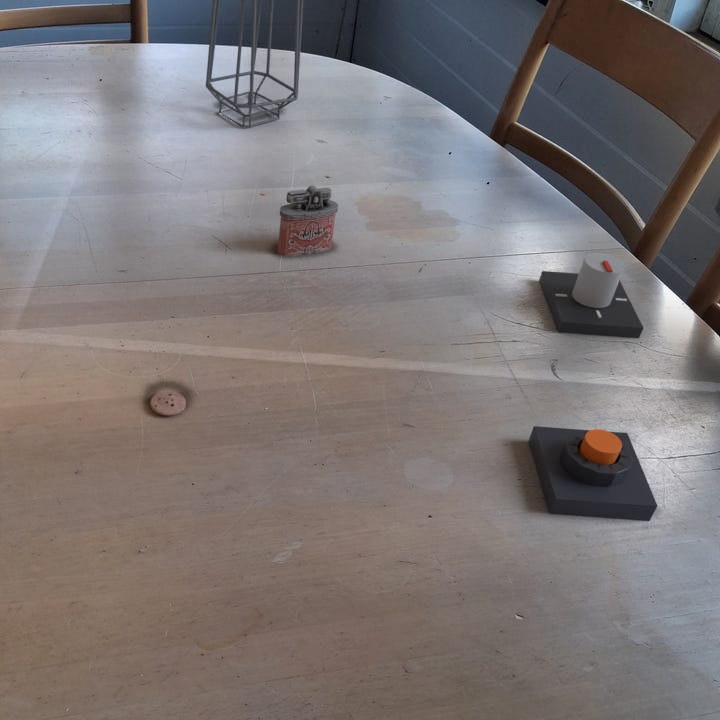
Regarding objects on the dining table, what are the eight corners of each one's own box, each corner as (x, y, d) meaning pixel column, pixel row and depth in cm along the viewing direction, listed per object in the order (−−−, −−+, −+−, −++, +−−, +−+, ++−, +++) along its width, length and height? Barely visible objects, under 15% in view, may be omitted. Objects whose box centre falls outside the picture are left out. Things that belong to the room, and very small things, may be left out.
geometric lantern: (260, 94, 165) (276, -134, 141) (312, 125, 156) (339, -113, 132) (187, 109, 158) (190, -129, 134) (237, 143, 149) (251, -106, 125)
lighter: (324, 248, 125) (334, 179, 118) (335, 260, 123) (345, 190, 116) (271, 256, 123) (277, 186, 116) (281, 268, 120) (288, 198, 114)
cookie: (152, 419, 96) (152, 411, 95) (148, 395, 99) (147, 388, 98) (188, 416, 97) (188, 409, 96) (183, 393, 100) (183, 385, 99)
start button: (610, 443, 92) (616, 430, 91) (620, 467, 89) (626, 454, 88) (575, 440, 92) (581, 427, 91) (584, 464, 89) (589, 451, 88)
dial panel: (610, 296, 120) (618, 275, 118) (635, 348, 112) (644, 326, 109) (535, 290, 120) (542, 269, 118) (554, 342, 111) (562, 320, 109)
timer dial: (567, 286, 115) (580, 249, 112) (604, 288, 116) (619, 251, 112) (577, 307, 112) (590, 269, 108) (615, 309, 112) (630, 271, 108)
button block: (620, 448, 97) (633, 419, 95) (649, 521, 89) (664, 492, 87) (528, 441, 97) (538, 412, 94) (549, 514, 89) (561, 485, 86)
